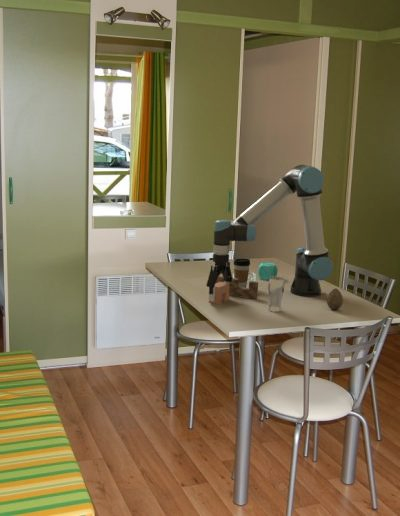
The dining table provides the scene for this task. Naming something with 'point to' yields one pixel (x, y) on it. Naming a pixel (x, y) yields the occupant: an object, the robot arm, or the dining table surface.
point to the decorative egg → (334, 299)
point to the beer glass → (275, 293)
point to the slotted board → (240, 291)
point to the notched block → (221, 292)
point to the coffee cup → (241, 271)
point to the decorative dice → (267, 271)
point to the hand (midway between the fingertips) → (218, 298)
